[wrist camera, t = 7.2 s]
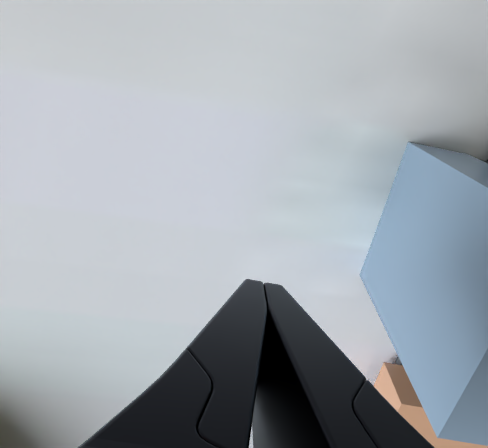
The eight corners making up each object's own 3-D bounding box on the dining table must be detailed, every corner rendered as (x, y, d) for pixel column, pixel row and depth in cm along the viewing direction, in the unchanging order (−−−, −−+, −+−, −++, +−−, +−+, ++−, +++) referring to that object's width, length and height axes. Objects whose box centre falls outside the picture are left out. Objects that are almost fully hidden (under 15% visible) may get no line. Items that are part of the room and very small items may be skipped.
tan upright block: (345, 445, 21) (487, 467, 22) (357, 494, 19) (515, 517, 19) (383, 360, 19) (540, 387, 19) (401, 404, 16) (581, 433, 17)
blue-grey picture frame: (414, 285, 18) (531, 452, 10) (359, 275, 17) (437, 437, 10) (471, 154, 15) (676, 251, 8) (408, 141, 15) (555, 227, 8)
